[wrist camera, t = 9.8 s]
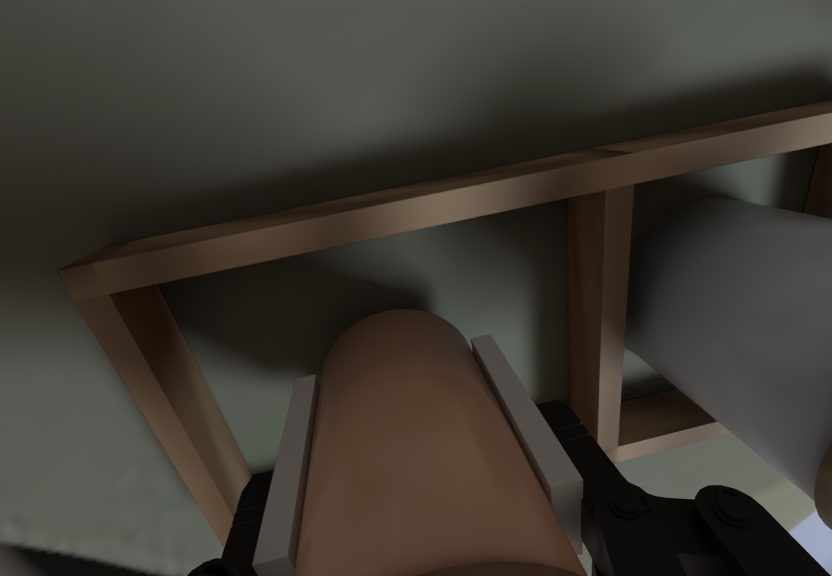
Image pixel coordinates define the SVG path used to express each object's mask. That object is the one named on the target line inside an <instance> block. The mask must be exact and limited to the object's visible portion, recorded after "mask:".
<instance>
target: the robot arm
mask: <svg viewBox="0 0 832 576" xmlns="http://www.w3.org/2000/svg"><path fill="white" fill-rule="evenodd" d="M471 343H472V350H473V354H474V356H475V358H476V360H477V362H478V364H479V366H480V368H481V370H482V372H483V374H484V376H485V377H486V379H487V381H488V383H489V385H490V387H491V389H492V391H493V393H494V395H495V397H496V399H497V401H498V403H499V405H500V407H501V409H502V411H503V413H504V414H505V416H506V418H507V420H508V422H509V424H510V426H511V428H512V430H513V432H514V434H515V436H516V438H517V440H518V442H519V444H520V446H521V448H522V449H523V451H524V453H525V455H526V457H527V459H528V461H529V463H530V465H531V467H532V469H533V471H534V473H535V475H536V477H537V479H538V481H539V483H540V485H541V486H542V488H543V490H544V492H545V494H546V496H547V498H548V500H549V502H550V504H551V506H552V508H553V510H554V512H555V514H556V516H557V518H558V520H559V522H560V523H561V525H562V527H563V529H564V531H565V533H566V535H567V537H568V539H569V541H570V543H571V545H572V547H573V549H574V551H575V553H576V555H579V554H582V541H583V542H584V544H585V546H586V548H587V550H588V552H589V553H590V555H591V557H592V576H830V575H829V574H828V573H827V572H826V571H825V569H824V568H823V567H822V566H821V565H820V564H819V563H818V562H817V561H816V560H815V559H814V558H813V557H812V556H811V555H810V554H809V553H808V552H806V550H805V549H804V548H803V547H802V546H801V545H800V544H799V543H798V542H797V541H796V540H795V539H794V538H793V537H792V536H791V535H790V534H789V533H788V532H787V531H786V530H785V529H784V528H783V527H782V526H781V525H780V524H779V523H778V522H777V521H776V520H775V519H774V518H773V517H772V516H771V515H770V514H769V512H768V511H767V510H766V509H765V508H764V507H763V506H761V505H760V504H759V503H758V502H756V501H755V500H754V499H753V498H751V497H750V496H749V495H747V494H745V493H743V492H741V491H739V490H737V489H734V488H730V487H726V486H722V485H709V486H706V487H704V488H702V489H700V490H699V492H698V493H697V495H696V497H695V500H693V499H677V498H664V497H658V496H654V495H651V494H648V493H646V492H645V491H644V490H643V489H641V488H640V487H638V486H636V485H634V484H631V483H629V482H628V481H627V480H626V479H625V478H624V477H623V476H622V475H621V473H620V472H619V471H618V469H617V468H616V467H615V465H614V464H613V463H612V461H611V460H610V459H609V457H608V456H607V455H606V454H605V452H604V451H603V450H602V448H601V447H600V446H599V444H598V443H597V442H596V440H595V439H594V438H593V436H591V435H590V432H589V431H588V430H587V428H586V427H585V426H584V425H583V424H582V422H581V420H580V419H579V418H578V416H577V415H576V414H575V413H574V411H573V410H572V409H571V408H569V407H568V406H566V405H565V404H563V403H562V402H560V401H559V400H555V401H551V402H547V403H543V404H539V405H535V403H534V402H533V400H532V399H531V397H530V396H529V394H528V392H527V391H526V389H525V388H524V386H523V385H522V383H521V382H520V380H519V378H518V377H517V375H516V374H515V372H514V371H513V369H512V367H511V366H510V364H509V363H508V361H507V360H506V358H505V356H504V355H503V353H502V352H501V350H500V349H499V347H498V346H497V344H496V342H495V341H494V339H493V338H492V336H491V335H490V334H488V335H484V336H480V337H475V338H471ZM319 389H320V385H319V382H318V379H317V376H316V374H314V375H310V376H306V377H301V378H297V379H295V383H294V387H293V391H292V395H291V400H290V404H289V408H288V413H287V417H286V421H285V426H284V430H283V434H282V439H281V443H280V447H279V451H278V456H277V460H276V464H275V469H274V470H272V471H268V472H264V473H260V474H256V475H253V476H252V478H251V479H250V480H249V482H248V483H247V485H246V486H245V488H244V489H243V491H242V492H241V496H240V499H239V502H238V505H237V509H236V510H237V512H236V513H235V515H234V518H233V522H232V527H231V528H230V531H229V535H228V538H227V541H226V544H225V548H224V551H223V554H222V557H221V559H220V558H215V559H213V560H210V561H207V562H204V563H203V564H201V565H200V566H198V567H197V568H195V569H194V570H192V571H191V572H190V573H189V574H188V575H187V576H294V575H295V568H296V560H297V553H298V545H299V538H300V530H301V523H302V515H303V508H304V500H305V493H306V486H307V478H308V471H309V463H310V456H311V448H312V441H313V433H314V426H315V418H316V411H317V404H318V396H319Z"/></svg>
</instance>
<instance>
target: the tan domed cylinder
mask: <svg viewBox="0 0 832 576" xmlns="http://www.w3.org/2000/svg"><path fill="white" fill-rule="evenodd" d="M294 576H587V574H586V572H585V570H584V568H583V566H582V564H581V562H580V560H579V559H578V557H577V555H576V553H575V551H574V549H573V547H572V545H571V543H570V541H569V539H568V537H567V535H566V533H565V531H564V529H563V527H562V525H561V523H560V522H559V520H558V518H557V516H556V514H555V512H554V510H553V508H552V506H551V504H550V502H549V500H548V498H547V496H546V494H545V492H544V490H543V488H542V486H541V485H540V483H539V481H538V479H537V477H536V475H535V473H534V471H533V469H532V467H531V465H530V463H529V461H528V459H527V457H526V455H525V453H524V451H523V449H522V448H521V446H520V444H519V442H518V440H517V438H516V436H515V434H514V432H513V430H512V428H511V426H510V424H509V422H508V420H507V418H506V416H505V414H504V413H503V411H502V409H501V407H500V405H499V403H498V401H497V399H496V397H495V395H494V393H493V391H492V389H491V387H490V385H489V383H488V381H487V379H486V377H485V376H484V374H483V372H482V370H481V368H480V366H479V364H478V362H477V360H476V358H475V356H474V354H473V352H472V350H471V348H470V346H469V344H468V343H467V341H466V339H465V338H464V336H463V335H462V334H461V333H460V331H459V330H458V329H457V328H455V327H454V326H453V325H452V324H451V323H449V322H448V321H446V320H445V319H443V318H441V317H439V316H437V315H434V314H431V313H428V312H424V311H419V310H411V309H396V310H389V311H383V312H380V313H376V314H373V315H371V316H368V317H366V318H364V319H362V320H360V321H358V322H356V323H355V324H353V325H352V326H351V327H349V328H348V329H346V330H345V331H344V332H343V333H342V334H341V335H340V336H339V337H338V338H337V340H336V341H335V342H334V343H333V345H332V346H331V348H330V350H329V351H328V353H327V355H326V358H325V360H324V364H323V368H322V374H321V381H320V389H319V396H318V404H317V411H316V418H315V426H314V433H313V441H312V448H311V456H310V463H309V471H308V478H307V486H306V493H305V500H304V508H303V515H302V523H301V530H300V538H299V545H298V553H297V560H296V568H295V575H294Z"/></svg>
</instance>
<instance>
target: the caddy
mask: <svg viewBox="0 0 832 576" xmlns="http://www.w3.org/2000/svg"><path fill="white" fill-rule="evenodd" d="M818 145H820V148H819V152H818V156H817V160H816V164H815V168H814V172H813V176H812V180H811V184H810V188H809V192H808V196H807V200H806V204H805V208H804V212H803V213H804V214H809V215H814V216H819V217H824V218H829V219H832V100H828V101H823V102H818V103H813V104H808V105H803V106H799V107H794V108H789V109H784V110H779V111H774V112H769V113H764V114H759V115H754V116H749V117H744V118H739V119H734V120H729V121H724V122H719V123H714V124H709V125H704V126H699V127H694V128H689V129H685V130H680V131H675V132H670V133H665V134H660V135H655V136H650V137H645V138H640V139H635V140H630V141H625V142H620V143H615V144H610V145H605V146H600V147H595V148H590V149H585V150H580V151H575V152H571V153H566V154H561V155H556V156H551V157H546V158H541V159H536V160H531V161H526V162H521V163H516V164H511V165H506V166H501V167H496V168H491V169H486V170H481V171H476V172H471V173H466V174H461V175H457V176H452V177H447V178H442V179H437V180H432V181H427V182H422V183H417V184H412V185H407V186H402V187H397V188H392V189H387V190H382V191H377V192H372V193H367V194H362V195H357V196H352V197H347V198H343V199H338V200H333V201H328V202H323V203H318V204H313V205H308V206H303V207H298V208H293V209H288V210H283V211H278V212H273V213H268V214H263V215H258V216H253V217H248V218H243V219H238V220H233V221H229V222H224V223H219V224H214V225H209V226H204V227H199V228H194V229H189V230H184V231H179V232H174V233H169V234H164V235H159V236H154V237H149V238H144V239H139V240H134V241H129V242H124V243H119V244H114V245H110V246H106V247H104V248H102V249H100V250H98V251H96V252H94V253H92V254H90V255H88V256H86V257H84V258H82V259H79V260H77V261H75V262H73V263H71V264H69V265H67V266H65V267H63V268H61V269H59V270H57V273H58V275H59V276H60V278H61V280H62V281H63V283H64V285H65V286H66V288H67V290H68V291H69V293H70V295H71V296H72V298H73V299H74V301H75V303H76V304H77V306H78V308H79V309H80V311H81V313H82V314H83V316H84V318H85V319H86V321H87V323H88V324H89V326H90V328H91V329H92V331H93V332H94V334H95V336H96V337H97V339H98V341H99V342H100V344H101V346H102V347H103V349H104V351H105V352H106V354H107V356H108V357H109V359H110V361H111V362H112V364H113V365H114V367H115V369H116V370H117V372H118V374H119V375H120V377H121V379H122V380H123V382H124V384H125V385H126V387H127V389H128V390H129V392H130V394H131V395H132V397H133V398H134V400H135V402H136V403H137V405H138V407H139V408H140V410H141V412H142V413H143V415H144V417H145V418H146V420H147V422H148V423H149V425H150V427H151V428H152V430H153V431H154V433H155V435H156V436H157V438H158V440H159V441H160V443H161V445H162V446H163V448H164V450H165V451H166V453H167V455H168V456H169V458H170V460H171V461H172V463H173V464H174V466H175V468H176V469H177V471H178V473H179V474H180V476H181V478H182V479H183V481H184V483H185V484H186V486H187V488H188V489H189V491H190V493H191V494H192V496H193V497H194V499H195V501H196V502H197V504H198V506H199V507H200V509H201V511H202V512H203V514H204V516H205V517H206V519H207V521H208V522H209V524H210V525H211V527H212V529H213V530H214V532H215V534H216V535H217V537H218V539H219V540H220V542H221V544H222V545H223V547H224V548H225V544H226V541H227V538H228V535H229V531H230V528H231V527H232V522H233V518H234V515H235V513H236V512H237V510H236V509H237V505H238V502H239V499H240V496H241V492H242V491H243V489H244V488H245V486H246V485H247V483H248V482H249V480H250V479H251V478H252V474H251V472H250V470H249V468H248V466H247V464H246V462H245V460H244V458H243V456H242V454H241V452H240V450H239V448H238V446H237V443H236V441H235V439H234V437H233V435H232V433H231V431H230V429H229V427H228V425H227V423H226V421H225V419H224V417H223V415H222V413H221V411H220V409H219V407H218V405H217V403H216V401H215V399H214V397H213V395H212V393H211V391H210V389H209V387H208V385H207V383H206V381H205V379H204V377H203V375H202V373H201V371H200V369H199V367H198V365H197V363H196V361H195V359H194V357H193V355H192V353H191V351H190V349H189V347H188V345H187V343H186V341H185V339H184V336H183V334H182V332H181V330H180V328H179V326H178V324H177V322H176V320H175V318H174V316H173V314H172V312H171V310H170V308H169V306H168V304H167V302H166V300H165V298H164V296H163V294H162V292H161V290H160V288H159V286H158V284H159V283H164V282H169V281H174V280H178V279H183V278H188V277H193V276H197V275H202V274H207V273H212V272H217V271H221V270H226V269H231V268H236V267H240V266H245V265H250V264H255V263H260V262H264V261H269V260H274V259H279V258H283V257H288V256H293V255H298V254H302V253H307V252H312V251H317V250H322V249H326V248H331V247H336V246H341V245H345V244H350V243H355V242H360V241H365V240H369V239H374V238H379V237H384V236H388V235H393V234H398V233H403V232H408V231H412V230H417V229H422V228H427V227H431V226H436V225H441V224H446V223H451V222H455V221H460V220H465V219H470V218H474V217H479V216H484V215H489V214H493V213H498V212H503V211H508V210H513V209H517V208H522V207H527V206H532V205H536V204H541V203H546V202H551V201H556V200H560V199H565V198H568V281H569V406H570V408H571V409H572V410H573V411H574V413H575V414H576V415H577V416H578V418H579V419H580V420H581V422H582V424H583V425H584V426H585V427H586V428H587V430H588V431H589V432H590V435H591V436H593V438H594V439H595V440H596V442H597V443H598V444H599V446H600V447H601V448H602V450H603V451H604V452H605V454H606V455H607V456H608V457H609V459H610V460H611V461H612V463H617V462H621V461H624V460H628V459H632V458H636V457H640V456H644V455H648V454H652V453H656V452H659V451H663V450H667V449H671V448H675V447H679V446H683V445H687V444H691V443H695V442H698V441H702V440H706V439H710V438H714V437H718V436H722V435H726V434H730V433H731V432H730V431H729V430H728V429H726V428H725V427H724V426H723V425H721V424H720V423H719V422H718V421H717V420H715V419H714V418H713V417H712V416H711V415H709V414H708V413H707V412H706V411H704V410H703V409H702V408H701V407H700V406H698V405H697V404H696V403H695V402H694V401H692V400H691V399H690V398H689V397H687V396H686V395H685V394H684V393H683V392H681V391H680V390H679V389H678V388H675V389H671V390H667V391H663V392H659V393H655V394H651V395H647V396H643V397H639V398H635V399H631V400H627V401H623V402H621V388H622V372H623V356H624V340H625V324H626V308H627V292H628V276H629V260H630V244H631V228H632V212H633V196H634V184H637V183H642V182H646V181H651V180H656V179H661V178H665V177H670V176H675V175H680V174H684V173H689V172H694V171H699V170H704V169H708V168H713V167H718V166H723V165H727V164H732V163H737V162H742V161H747V160H751V159H756V158H761V157H766V156H770V155H775V154H780V153H785V152H790V151H794V150H799V149H804V148H809V147H813V146H818Z"/></svg>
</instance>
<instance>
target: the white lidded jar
mask: <svg viewBox="0 0 832 576" xmlns="http://www.w3.org/2000/svg"><path fill="white" fill-rule="evenodd" d="M624 345H625V346H627V347H628V348H629V349H630V350H632V351H633V352H634V353H635V354H636V355H638V356H639V357H640V358H641V359H642V360H644V361H645V362H646V363H647V364H649V365H650V366H651V367H652V368H653V369H655V370H656V371H657V372H658V373H659V374H661V375H662V376H663V377H664V378H666V379H667V380H668V381H669V382H670V383H672V384H673V385H674V386H675V387H677V388H678V389H679V390H680V391H681V392H683V393H684V394H685V395H686V396H687V397H689V398H690V399H691V400H692V401H694V402H695V403H696V404H697V405H698V406H700V407H701V408H702V409H703V410H704V411H706V412H707V413H708V414H709V415H711V416H712V417H713V418H714V419H715V420H717V421H718V422H719V423H720V424H721V425H723V426H724V427H725V428H726V429H728V430H729V431H730V432H731V433H732V434H734V435H735V436H736V437H737V438H739V439H740V440H741V441H742V442H743V443H745V444H746V445H747V446H748V447H749V448H751V449H752V450H753V451H754V452H756V453H757V454H758V455H759V456H760V457H762V458H763V459H764V460H765V461H766V462H768V463H769V464H770V465H771V466H773V467H774V468H775V469H776V470H777V471H779V472H780V473H781V474H782V475H783V476H785V477H786V478H787V479H788V480H790V481H791V482H792V483H793V484H794V485H796V486H797V487H798V488H799V489H801V490H802V491H803V492H804V493H805V494H807V495H808V496H809V497H810V498H811V499H813V500H814V501H815V506H816V509H817V512H818V515H819V517H820V518H821V519H822V521H823V522H824V523H825V524H826V525H827V526H828V527H829V528H830V529H831V530H832V219H829V218H824V217H819V216H814V215H809V214H804V213H799V212H794V211H789V210H784V209H779V208H774V207H769V206H764V205H759V204H754V203H749V202H744V201H739V200H734V199H728V198H712V199H705V200H700V201H697V202H693V203H690V204H688V205H685V206H683V207H681V208H679V209H677V210H675V211H673V212H671V213H669V214H668V215H666V216H665V217H663V218H662V219H661V220H659V221H658V222H656V223H655V224H654V225H653V226H652V227H651V228H649V229H648V230H647V231H646V232H645V233H644V234H643V235H642V236H641V237H640V238H639V239H638V241H637V242H636V243H635V244H634V246H633V247H632V248H631V249H630V260H629V276H628V292H627V308H626V324H625V340H624Z"/></svg>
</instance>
